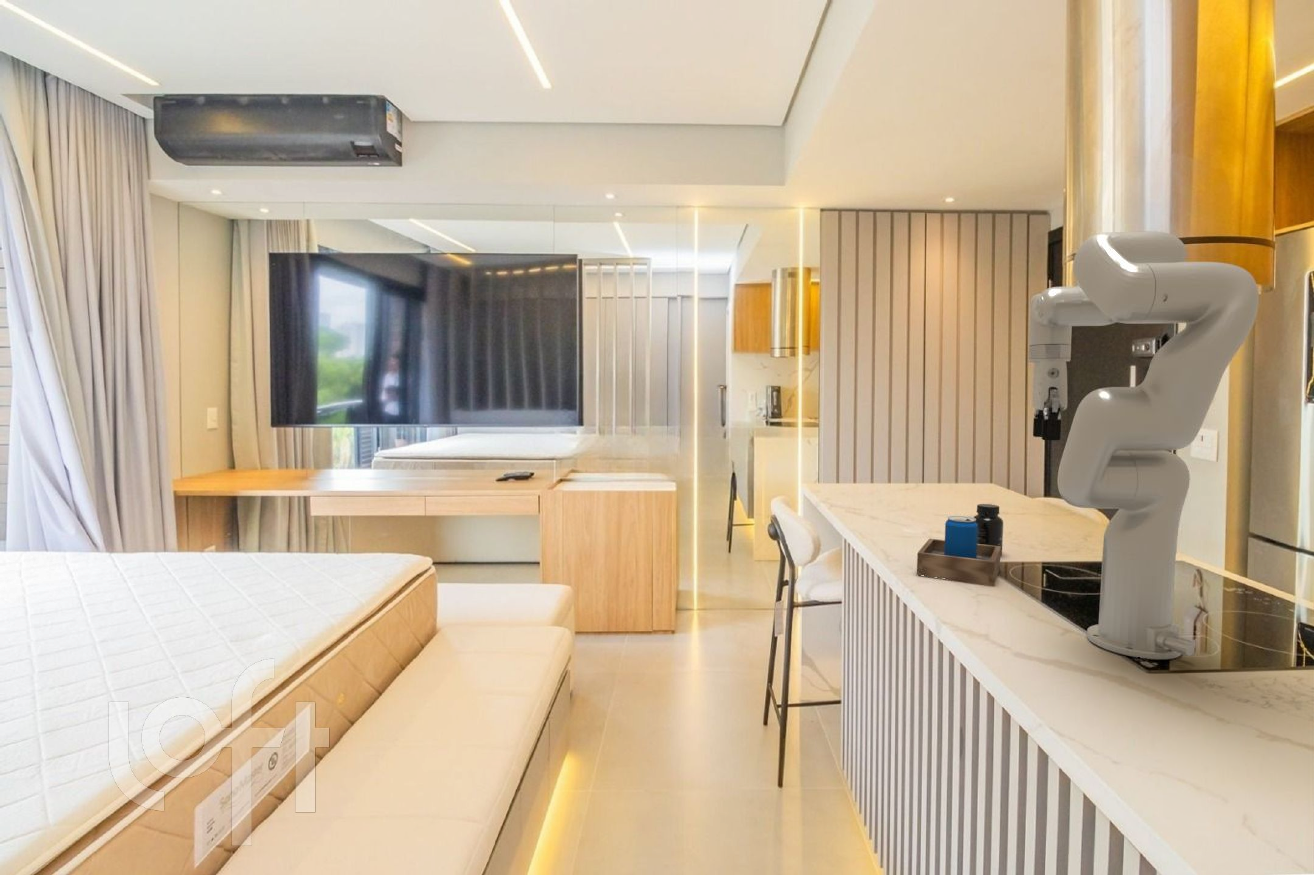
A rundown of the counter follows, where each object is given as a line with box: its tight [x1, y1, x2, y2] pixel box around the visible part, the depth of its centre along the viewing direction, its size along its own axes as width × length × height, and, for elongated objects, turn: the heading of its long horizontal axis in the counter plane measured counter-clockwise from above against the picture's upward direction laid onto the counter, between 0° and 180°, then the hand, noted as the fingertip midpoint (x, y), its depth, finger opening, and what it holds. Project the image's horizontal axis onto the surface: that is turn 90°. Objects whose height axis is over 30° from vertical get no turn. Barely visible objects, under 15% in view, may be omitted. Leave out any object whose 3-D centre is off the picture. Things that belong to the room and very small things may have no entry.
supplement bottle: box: [972, 503, 1004, 557], centre depth 166 cm, size 7×7×12 cm
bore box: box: [916, 538, 1001, 587], centre depth 152 cm, size 15×15×5 cm
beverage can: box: [944, 515, 978, 559], centre depth 151 cm, size 6×6×12 cm
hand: (1046, 438), depth 142 cm, fingers open, 9 cm apart
